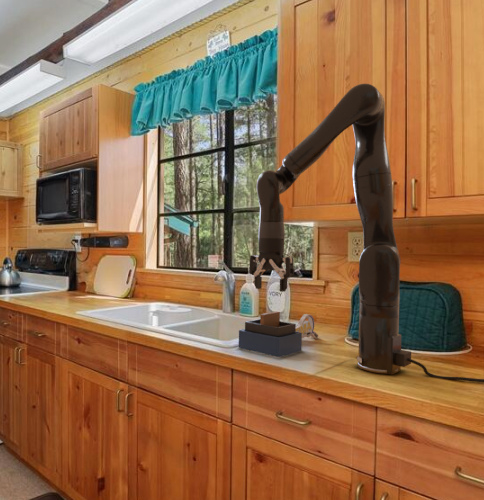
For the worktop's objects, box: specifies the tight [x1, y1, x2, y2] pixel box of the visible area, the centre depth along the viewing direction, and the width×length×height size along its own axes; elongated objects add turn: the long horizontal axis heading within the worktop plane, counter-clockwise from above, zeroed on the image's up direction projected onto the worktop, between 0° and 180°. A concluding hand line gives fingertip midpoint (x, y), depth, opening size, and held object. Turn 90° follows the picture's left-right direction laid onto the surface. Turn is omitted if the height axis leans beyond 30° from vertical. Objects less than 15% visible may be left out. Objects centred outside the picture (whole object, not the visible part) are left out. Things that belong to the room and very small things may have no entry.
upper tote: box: [244, 311, 297, 338], centre depth 133 cm, size 12×10×11 cm
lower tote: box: [238, 328, 303, 358], centre depth 133 cm, size 14×12×6 cm
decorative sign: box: [296, 313, 319, 340], centre depth 145 cm, size 18×1×10 cm, turn 129°
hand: (270, 290), depth 133 cm, fingers open, 8 cm apart
